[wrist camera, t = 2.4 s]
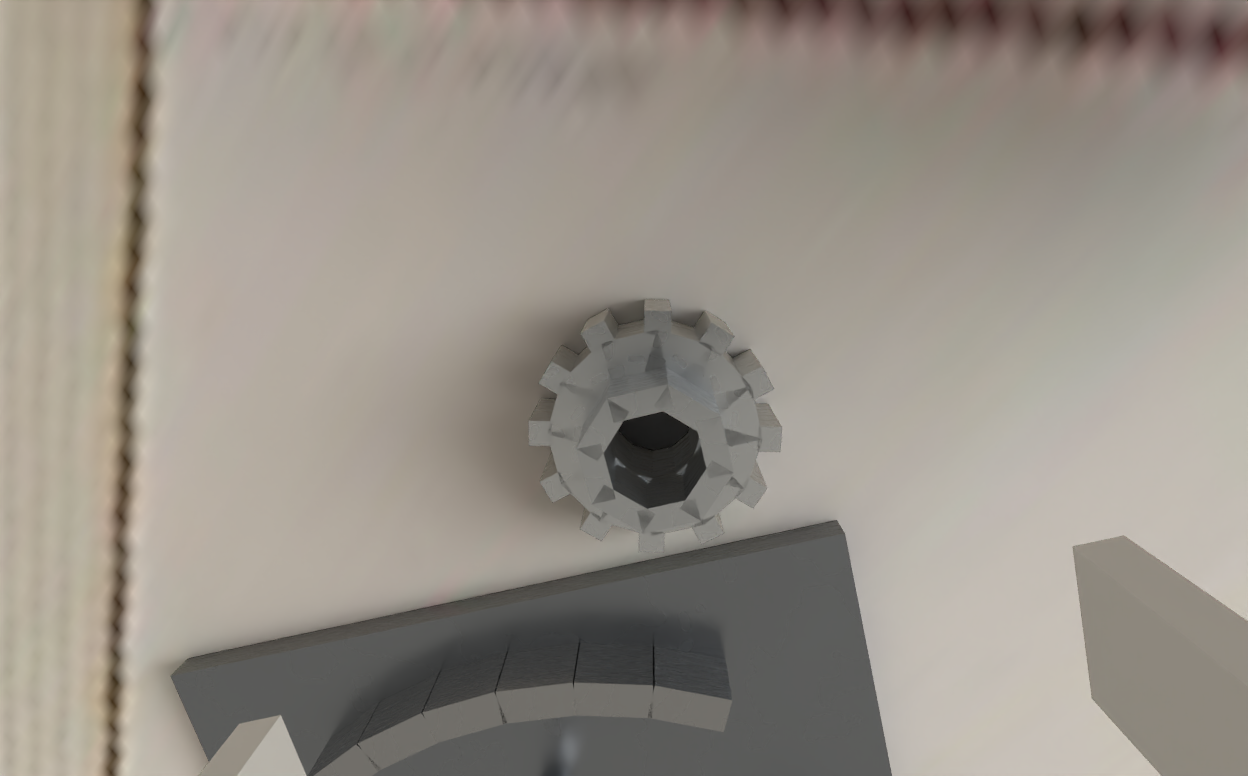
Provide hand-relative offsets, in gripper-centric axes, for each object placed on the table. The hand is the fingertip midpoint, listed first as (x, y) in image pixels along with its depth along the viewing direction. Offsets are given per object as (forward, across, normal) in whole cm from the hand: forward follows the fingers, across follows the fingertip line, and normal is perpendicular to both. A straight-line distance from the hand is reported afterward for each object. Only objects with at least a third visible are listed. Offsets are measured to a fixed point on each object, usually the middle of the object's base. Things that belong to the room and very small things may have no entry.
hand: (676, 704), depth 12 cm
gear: (+17, 0, 0) cm, 17 cm away
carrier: (+17, -8, -19) cm, 26 cm away
